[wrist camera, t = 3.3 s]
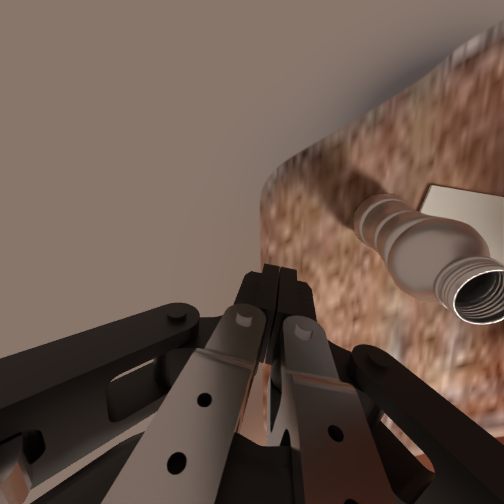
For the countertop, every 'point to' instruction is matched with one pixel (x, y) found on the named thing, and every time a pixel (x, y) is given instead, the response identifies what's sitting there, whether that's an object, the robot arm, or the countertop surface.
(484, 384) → the countertop surface
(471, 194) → the mat
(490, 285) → the plastic bottle
